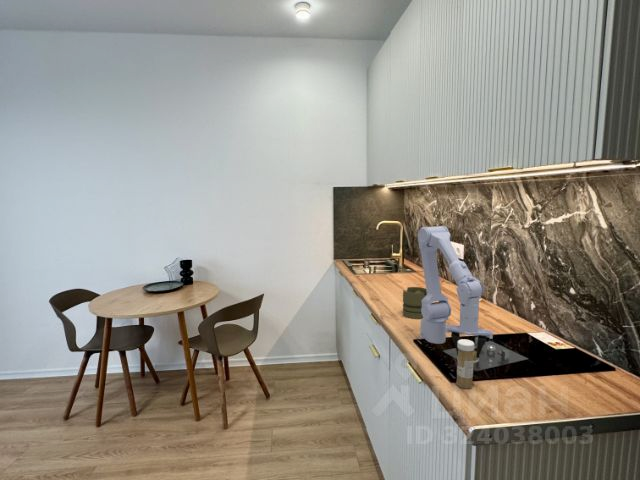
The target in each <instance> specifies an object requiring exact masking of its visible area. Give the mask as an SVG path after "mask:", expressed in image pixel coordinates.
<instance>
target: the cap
mask: <svg viewBox="0 0 640 480" xmlns="http://www.w3.org/2000/svg"><path fill="white" fill-rule="evenodd" d="M474 360H477V347H476V346H474V351H473V361H474Z"/></svg>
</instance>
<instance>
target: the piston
mask: <svg viewBox="0 0 640 480" xmlns="http://www.w3.org/2000/svg"><path fill="white" fill-rule="evenodd" d="M426 295H427V291H426V287H425V288H424V287H419V286H407V288H406V290H405V289H403V290H402V316H403V317H404V318H406V319H411V320H422V318H423V316H422V313H421V308H422V299H423V298H424V297H425V296H426Z"/></svg>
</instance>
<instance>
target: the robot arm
mask: <svg viewBox="0 0 640 480" xmlns="http://www.w3.org/2000/svg"><path fill="white" fill-rule="evenodd" d="M417 240H418V247H419V248H418V249H419V250H420V254H421V255H420V256H421V262H422V268H423V276H424V277H423V278H424V282H425V289H426V291H427V295H426V296H425V297H424V298H423V299H422V308H421V313H422V316H423V318H422V319H420V331H419V332H420V336H418V339H419V340H422V339H425V340H426V341H427V342H428V343H431V344H435V345H436V344H439V345H440V344H444V343H445V342H446V340H447V339H446V336H447V335H446V334H447V333H450V337H451V340H452V342H453V344H454V346H455V348H456V351H457V355H458V347H457V344H458V341H459V340H461V339H460V338H461V336H460V335H466V336H475V337H478V348H477V358H479V355H480V352H481V349H482V347H483V345H484V344H485V342H487V338H489V339H493V337H494V330H493V331H492V330H488V329H485V328H484V329H483V328H479V318H480V317H479V314H480V313H479V311H480V297H482V296H483V295H484V293H485V292H484V291H485V290H484V286H483V283H482V282H481V280H479V279H477V278H476V277H475V276H473V274H472V273H471V271H470V270H469V268H468V265H467V264H466V262H464V261H462V260H460V259H459V257H458V255H457V252H456V250H455V248H454V246H453V244H452V242H451V233H450V232H449V229H448V227H447V226H445V225H439V226H438V225H437V226H422V227H420V229H419V231H418V233H417ZM438 249H439V250H440V253H441V254H442V255H443V257H444V258H445V260H446V261H447V262H448V264H449V267H448V271H449V273H450V274H451V276H452V278H453V280H454V282H455V283H456V285H457V287H456V294H457V296H458V301H459V307H460V308H459V325H450V324H449V325H447V321H448V320H449V318H450V316H451V314H452V307H451V306H452V305H450V302H449V299H448V298H449V297H448V296H447V295H445V294H444V293H442V287H441V286H442V285H441V281H440V280H441V279H440V273H439V267H438V259H437V255H436V254H437V253H436V252H437V251H438Z"/></svg>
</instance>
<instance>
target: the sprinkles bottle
mask: <svg viewBox="0 0 640 480" xmlns="http://www.w3.org/2000/svg"><path fill="white" fill-rule="evenodd" d="M474 344H475V341H473V340H470V339H465V338H464V339H460V340H459V341H458V344H457V347H458V360H457V359H456V360H457V363H456V365H457V367H456V385H457V386H458V387H459V388H462V389H472V388H473V385H474V384H473V377H474V375H473V374H474V370H473V351H474Z"/></svg>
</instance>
